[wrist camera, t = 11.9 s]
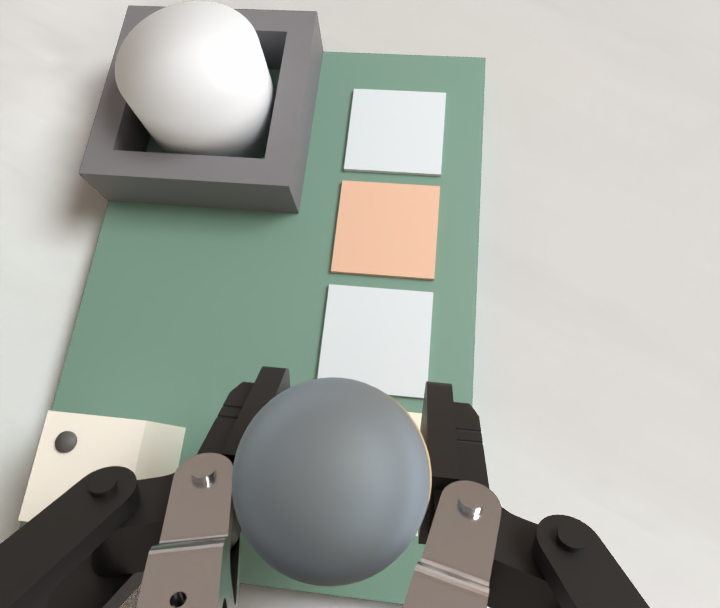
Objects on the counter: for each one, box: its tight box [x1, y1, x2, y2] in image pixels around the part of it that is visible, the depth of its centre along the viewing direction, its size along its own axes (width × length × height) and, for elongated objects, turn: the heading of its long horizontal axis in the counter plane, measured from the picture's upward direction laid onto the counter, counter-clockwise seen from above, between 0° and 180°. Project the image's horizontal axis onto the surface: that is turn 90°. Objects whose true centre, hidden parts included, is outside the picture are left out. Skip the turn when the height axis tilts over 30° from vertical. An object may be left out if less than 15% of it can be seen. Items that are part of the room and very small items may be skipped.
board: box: [18, 6, 485, 604], centre depth 21 cm, size 17×24×5 cm
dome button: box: [115, 1, 276, 158], centre depth 23 cm, size 6×6×4 cm
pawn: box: [232, 377, 432, 587], centre depth 13 cm, size 4×4×11 cm
